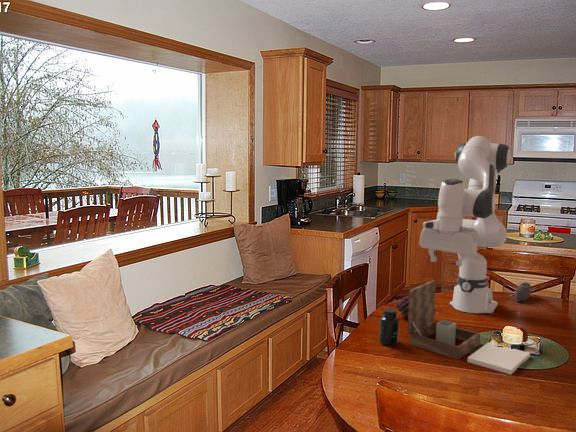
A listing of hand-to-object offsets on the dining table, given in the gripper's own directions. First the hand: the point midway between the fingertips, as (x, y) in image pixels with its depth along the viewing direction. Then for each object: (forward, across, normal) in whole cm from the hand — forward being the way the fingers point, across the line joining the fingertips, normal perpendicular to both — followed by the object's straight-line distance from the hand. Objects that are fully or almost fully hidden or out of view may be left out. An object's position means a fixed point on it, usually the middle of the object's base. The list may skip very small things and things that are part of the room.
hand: (445, 263), depth 184 cm
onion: (+28, -22, -16) cm, 39 cm away
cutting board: (+29, -21, 0) cm, 36 cm away
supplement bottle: (+30, +14, +12) cm, 35 cm away
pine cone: (+28, +20, -17) cm, 38 cm away
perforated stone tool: (+25, -4, -75) cm, 79 cm away
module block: (+29, -2, 0) cm, 29 cm away
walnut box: (+29, -2, 0) cm, 29 cm away
